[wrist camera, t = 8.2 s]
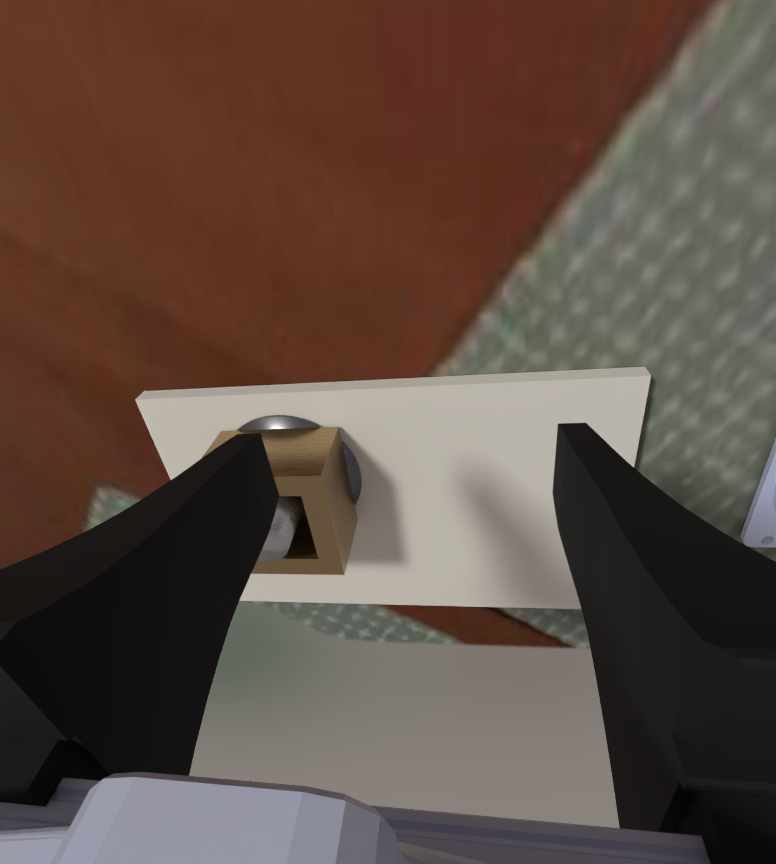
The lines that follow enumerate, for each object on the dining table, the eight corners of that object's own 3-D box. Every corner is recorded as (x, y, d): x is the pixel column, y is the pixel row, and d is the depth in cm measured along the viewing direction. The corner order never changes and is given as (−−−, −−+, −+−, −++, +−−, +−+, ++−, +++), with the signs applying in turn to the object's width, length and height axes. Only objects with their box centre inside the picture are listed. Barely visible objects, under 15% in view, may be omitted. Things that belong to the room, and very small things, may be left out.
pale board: (644, 366, 20) (651, 375, 19) (604, 597, 28) (607, 609, 27) (144, 391, 24) (135, 399, 23) (229, 589, 31) (224, 600, 30)
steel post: (349, 412, 22) (327, 476, 18) (370, 526, 26) (355, 599, 22) (205, 417, 23) (156, 479, 19) (245, 526, 27) (210, 595, 23)
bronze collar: (338, 426, 22) (320, 475, 19) (357, 520, 25) (344, 574, 22) (220, 430, 23) (186, 478, 20) (252, 520, 26) (227, 573, 23)
